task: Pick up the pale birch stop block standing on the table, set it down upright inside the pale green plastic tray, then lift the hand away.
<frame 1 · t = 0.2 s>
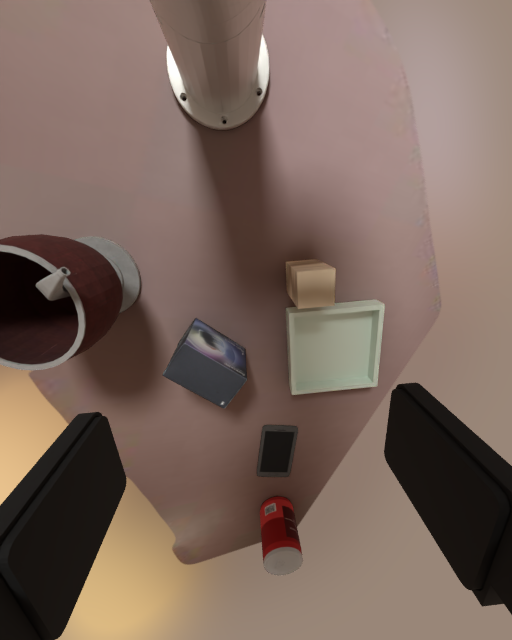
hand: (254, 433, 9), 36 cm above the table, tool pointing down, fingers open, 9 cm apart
mate gourd: (105, 274, 42), on the table
cell phone: (276, 449, 57), on the table
tray: (330, 344, 48), on the table
stop block: (301, 275, 44), on the table
canned food: (275, 506, 63), on the table
small box: (212, 345, 47), on the table
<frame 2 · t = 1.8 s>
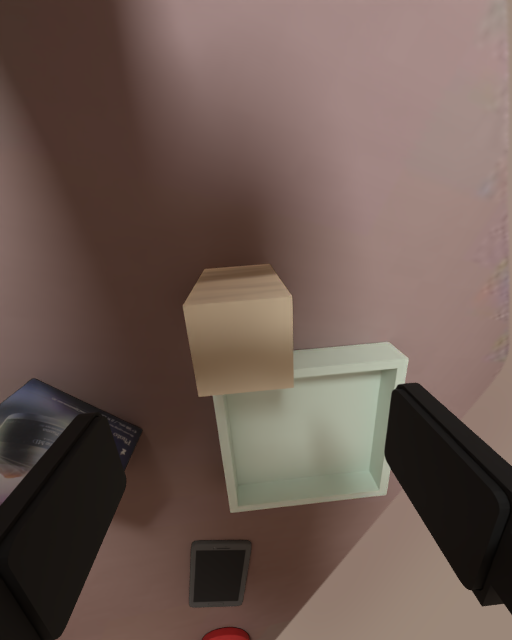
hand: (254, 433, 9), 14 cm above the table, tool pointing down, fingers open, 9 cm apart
cell phone: (219, 568, 35), on the table
tray: (302, 419, 26), on the table
stop block: (239, 297, 21), on the table
canned food: (225, 637, 41), on the table
small box: (79, 423, 25), on the table
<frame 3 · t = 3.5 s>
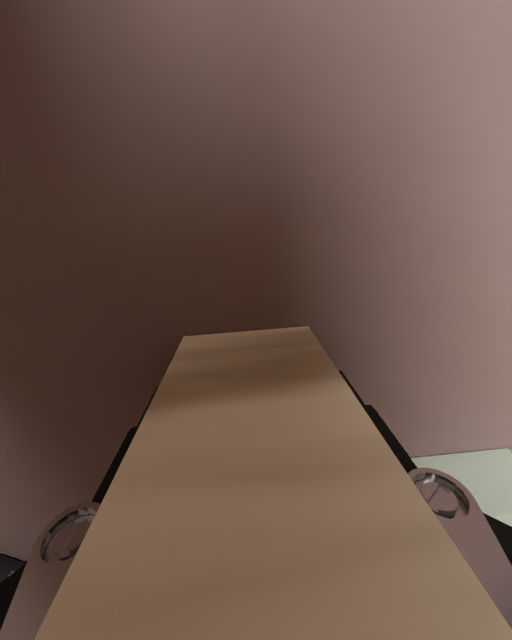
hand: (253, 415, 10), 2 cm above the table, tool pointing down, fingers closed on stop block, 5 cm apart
tray: (349, 560, 16), on the table
stop block: (250, 384, 12), on the table, touching gripper
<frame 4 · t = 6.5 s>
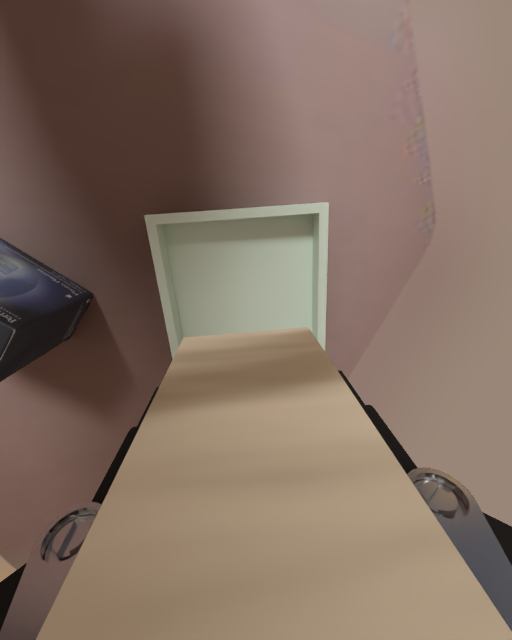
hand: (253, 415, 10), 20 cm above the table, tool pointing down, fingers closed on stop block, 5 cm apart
tray: (244, 290, 28), on the table
stop block: (251, 385, 12), point 18 cm above the table, touching gripper
small box: (34, 286, 27), on the table
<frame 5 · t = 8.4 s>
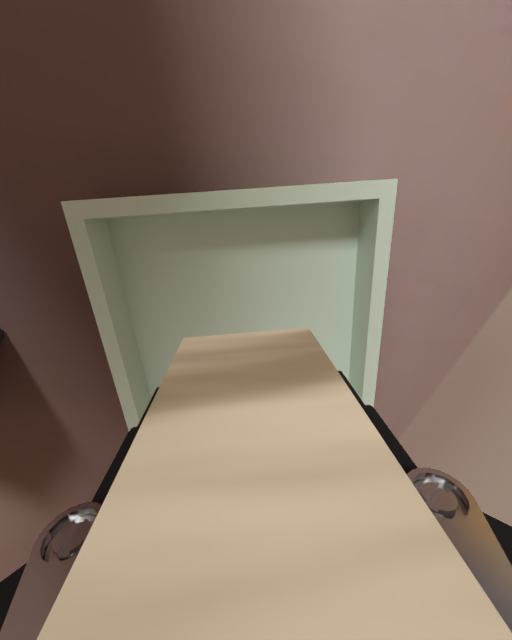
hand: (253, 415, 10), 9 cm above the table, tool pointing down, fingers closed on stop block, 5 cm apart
tray: (245, 323, 18), on the table
stop block: (251, 385, 12), point 7 cm above the table, touching gripper
when the fingers open (4 cm above the table, at t = 9.8 s): stop block drops 1 cm, resting on tray.
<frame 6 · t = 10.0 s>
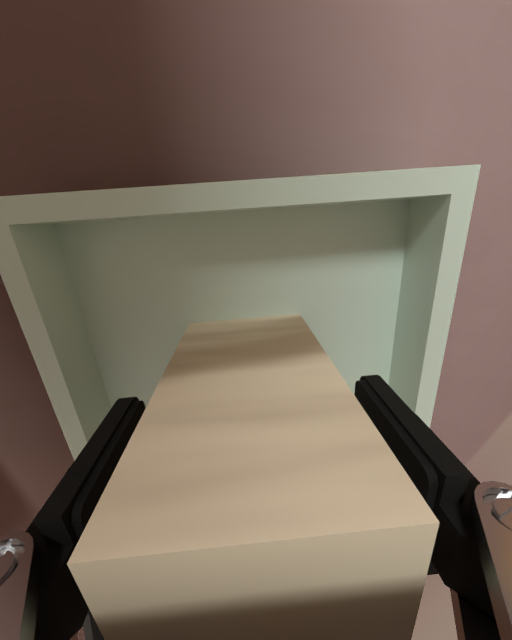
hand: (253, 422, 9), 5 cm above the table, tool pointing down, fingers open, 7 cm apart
cell phone: (138, 625, 22), on the table
tray: (249, 360, 14), on the table
stop block: (249, 367, 13), point 1 cm above the table, touching tray
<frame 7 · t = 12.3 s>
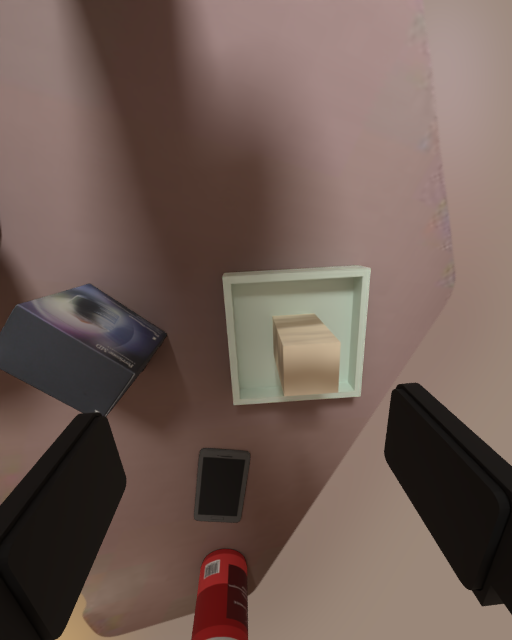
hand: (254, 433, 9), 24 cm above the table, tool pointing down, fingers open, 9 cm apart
cell phone: (221, 483, 41), on the table
tray: (292, 332, 33), on the table
stop block: (293, 334, 32), point 1 cm above the table, touching tray
canned food: (224, 561, 46), on the table
small box: (118, 326, 32), on the table
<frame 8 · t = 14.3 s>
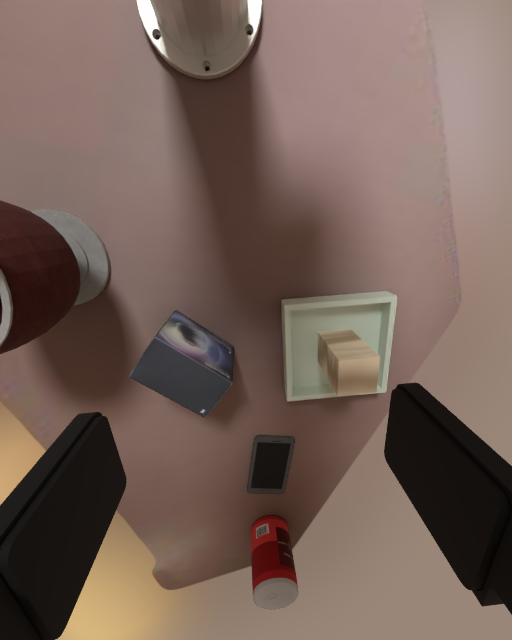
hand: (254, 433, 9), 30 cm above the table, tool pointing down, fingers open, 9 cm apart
mate gourd: (67, 256, 35), on the table
cell phone: (269, 462, 50), on the table
tray: (332, 343, 42), on the table
stop block: (333, 345, 41), point 1 cm above the table, touching tray
canned food: (269, 526, 56), on the table
small box: (196, 342, 41), on the table
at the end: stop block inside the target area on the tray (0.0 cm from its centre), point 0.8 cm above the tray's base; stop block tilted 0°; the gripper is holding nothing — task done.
